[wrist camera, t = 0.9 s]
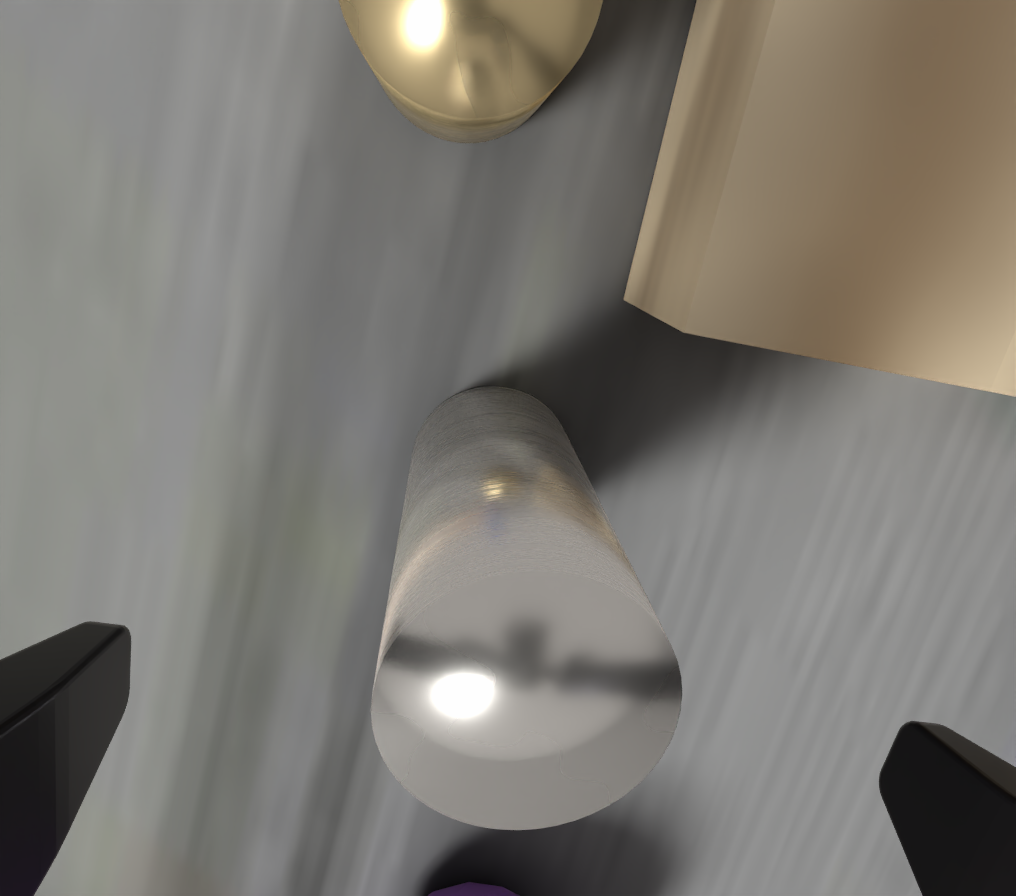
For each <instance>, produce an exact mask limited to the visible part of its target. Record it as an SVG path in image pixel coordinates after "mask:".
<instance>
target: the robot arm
mask: <svg viewBox="0 0 1016 896" xmlns="http://www.w3.org/2000/svg"><path fill="white" fill-rule="evenodd" d="M130 661H131V635H130V632H129V630H128V629H127V628H126V627H125V626H123V625H117V624H109V623H100V622H91V621H90V622H84V623H82V624H79V625H77V626H75V627H72V628H70V629H68V630H66V631H63V632H61V633H59V634H57V635H54V636H52V637H50V638H48V639H46V640H43V641H41V642H39V643H37V644H34V645H32V646H30V647H28V648H25V649H23V650H21V651H19V652H17V653H14V654H12V655H10V656H8V657H5V658H3V659H1V660H0V896H34V894H35V892H36V891H37V889H38V887H39V886H40V884H41V882H42V881H43V879H44V877H45V875H46V874H47V872H48V870H49V868H50V867H51V865H52V863H53V861H54V859H55V858H56V856H57V854H58V852H59V850H60V848H61V846H62V844H63V842H64V840H65V838H66V836H67V834H68V832H69V830H70V827H71V825H72V823H73V821H74V819H75V817H76V815H77V812H78V810H79V808H80V806H81V804H82V802H83V800H84V797H85V795H86V793H87V791H88V789H89V787H90V785H91V783H92V780H93V778H94V776H95V774H96V772H97V770H98V768H99V765H100V763H101V761H102V759H103V757H104V755H105V753H106V751H107V748H108V746H109V744H110V742H111V740H112V738H113V736H114V733H115V731H116V729H117V727H118V725H119V723H120V721H121V719H122V716H123V714H124V711H125V709H126V706H127V702H128V697H129V690H130ZM879 788H880V793H881V796H882V799H883V801H884V804H885V806H886V808H887V811H888V813H889V816H890V818H891V821H892V823H893V825H894V828H895V830H896V833H897V835H898V837H899V840H900V842H901V845H902V847H903V850H904V852H905V854H906V857H907V859H908V862H909V864H910V866H911V869H912V871H913V874H914V876H915V878H916V881H917V883H918V886H919V888H920V891H921V893H922V895H923V896H1016V767H1014V766H1012V765H1011V764H1009V763H1007V762H1006V761H1004V760H1002V759H1001V758H999V757H997V756H995V755H994V754H992V753H990V752H989V751H987V750H985V749H983V748H982V747H980V746H978V745H977V744H975V743H973V742H971V741H970V740H968V739H966V738H965V737H963V736H961V735H959V734H958V733H956V732H954V731H953V730H951V729H949V728H947V727H945V726H943V725H940V724H935V723H926V722H918V721H910V722H907V723H905V724H904V725H903V726H902V727H901V728H900V730H899V731H898V734H897V736H896V738H895V740H894V742H893V745H892V747H891V749H890V751H889V753H888V756H887V758H886V760H885V762H884V765H883V767H882V769H881V772H880V776H879Z"/></svg>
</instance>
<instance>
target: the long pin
mask: <svg viewBox="0 0 1016 896" xmlns="http://www.w3.org/2000/svg"><path fill="white" fill-rule="evenodd" d="M681 701H682V684H681V675H680V670H679V666H678V661H677V659H676V656H675V654H674V651H673V649H672V646H671V644H670V642H669V640H668V638H667V636H666V634H665V632H664V630H663V628H662V626H661V624H660V622H659V620H658V618H657V616H656V614H655V612H654V610H653V608H652V606H651V604H650V602H649V600H648V598H647V596H646V594H645V592H644V590H643V588H642V586H641V584H640V582H639V580H638V577H637V575H636V573H635V571H634V569H633V567H632V565H631V563H630V561H629V559H628V557H627V555H626V553H625V551H624V549H623V547H622V545H621V543H620V541H619V539H618V537H617V535H616V533H615V531H614V529H613V527H612V525H611V523H610V521H609V519H608V517H607V515H606V513H605V511H604V509H603V507H602V505H601V503H600V501H599V499H598V497H597V495H596V493H595V491H594V489H593V487H592V485H591V483H590V481H589V479H588V477H587V475H586V473H585V471H584V469H583V467H582V465H581V463H580V461H579V459H578V457H577V455H576V453H575V451H574V449H573V447H572V445H571V443H570V441H569V439H568V437H567V435H566V433H565V431H564V429H563V427H562V425H561V423H560V422H559V420H558V419H557V417H556V416H555V415H554V413H553V412H552V411H551V410H550V409H549V408H548V407H547V406H546V405H545V404H543V403H542V402H541V401H539V400H538V399H536V398H535V397H533V396H531V395H529V394H527V393H525V392H522V391H519V390H516V389H512V388H508V387H500V386H485V387H478V388H473V389H469V390H466V391H463V392H461V393H458V394H456V395H454V396H452V397H451V398H449V399H447V400H446V401H444V402H443V403H442V404H440V405H439V406H438V407H437V408H436V409H435V410H434V411H433V412H432V413H431V414H430V415H429V416H428V418H427V419H426V420H425V422H424V423H423V425H422V427H421V429H420V430H419V432H418V435H417V437H416V440H415V444H414V448H413V453H412V459H411V465H410V471H409V477H408V483H407V489H406V495H405V501H404V507H403V513H402V518H401V524H400V530H399V536H398V542H397V548H396V554H395V560H394V566H393V572H392V578H391V584H390V590H389V596H388V602H387V608H386V614H385V620H384V626H383V632H382V638H381V644H380V650H379V656H378V662H377V668H376V674H375V680H374V686H373V692H372V703H371V717H372V728H373V732H374V736H375V740H376V744H377V746H378V749H379V751H380V753H381V756H382V758H383V760H384V762H385V763H386V765H387V766H388V768H389V770H390V771H391V773H392V774H393V775H394V777H395V778H396V779H397V780H398V781H399V782H400V784H401V785H402V786H403V787H404V788H405V789H406V790H407V791H409V792H410V793H411V794H412V795H413V796H414V797H415V798H417V799H418V800H420V801H421V802H422V803H424V804H425V805H427V806H428V807H430V808H432V809H433V810H435V811H437V812H439V813H441V814H443V815H445V816H447V817H450V818H453V819H455V820H458V821H461V822H464V823H468V824H472V825H475V826H479V827H485V828H492V829H500V830H529V829H540V828H546V827H552V826H557V825H561V824H565V823H568V822H572V821H575V820H578V819H581V818H583V817H586V816H589V815H591V814H593V813H595V812H597V811H599V810H601V809H603V808H605V807H607V806H609V805H611V804H612V803H614V802H615V801H617V800H618V799H620V798H621V797H623V796H624V795H626V794H627V793H628V792H629V791H631V790H632V789H633V788H634V787H636V786H637V785H638V784H639V783H640V782H641V781H642V780H643V779H644V778H645V777H646V776H647V775H648V774H649V773H650V772H651V771H652V769H653V768H654V767H655V765H656V764H657V763H658V761H659V760H660V759H661V757H662V756H663V754H664V752H665V750H666V749H667V747H668V745H669V744H670V741H671V739H672V737H673V734H674V732H675V729H676V727H677V723H678V719H679V715H680V711H681Z"/></svg>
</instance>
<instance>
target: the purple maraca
mask: <svg viewBox="0 0 1016 896" xmlns="http://www.w3.org/2000/svg"><path fill="white" fill-rule="evenodd" d="M428 896H519V895H517V894H515V893H513V892H511V891H510V890H508V889H506V888H504V887H500V886H493V885H486V884H479V883H472V882H467V883H463V884H459V885H456V886H452V887H448V888H445V889H441V890H437V891H434V892H432V893H431V894H429V895H428Z"/></svg>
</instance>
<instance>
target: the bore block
mask: <svg viewBox="0 0 1016 896" xmlns="http://www.w3.org/2000/svg"><path fill="white" fill-rule="evenodd" d="M623 300H625V301H627V302H628V303H630V304H632V305H634V306H636V307H638V308H639V309H641V310H643V311H645V312H647V313H648V314H650V315H652V316H654V317H656V318H658V319H659V320H661V321H663V322H665V323H667V324H669V325H670V326H672V327H674V328H676V329H678V330H680V331H681V332H683V333H688V334H693V335H698V336H703V337H708V338H714V339H719V340H724V341H729V342H734V343H739V344H745V345H750V346H755V347H760V348H765V349H771V350H776V351H781V352H786V353H791V354H797V355H802V356H807V357H812V358H817V359H823V360H828V361H833V362H838V363H843V364H849V365H854V366H859V367H864V368H869V369H875V370H880V371H885V372H890V373H895V374H901V375H906V376H911V377H916V378H921V379H926V380H932V381H937V382H942V383H947V384H952V385H958V386H963V387H968V388H973V389H978V390H984V391H989V392H994V393H999V394H1004V395H1010V396H1015V397H1016V0H697V2H696V6H695V10H694V14H693V18H692V22H691V26H690V30H689V34H688V38H687V42H686V46H685V50H684V54H683V59H682V63H681V67H680V71H679V75H678V79H677V83H676V87H675V91H674V95H673V99H672V103H671V107H670V111H669V116H668V120H667V124H666V128H665V132H664V136H663V140H662V144H661V148H660V152H659V156H658V160H657V164H656V168H655V173H654V177H653V181H652V185H651V189H650V193H649V197H648V201H647V205H646V209H645V213H644V217H643V221H642V226H641V230H640V234H639V238H638V242H637V246H636V250H635V254H634V258H633V262H632V266H631V270H630V274H629V278H628V283H627V287H626V291H625V295H624V299H623Z"/></svg>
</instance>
